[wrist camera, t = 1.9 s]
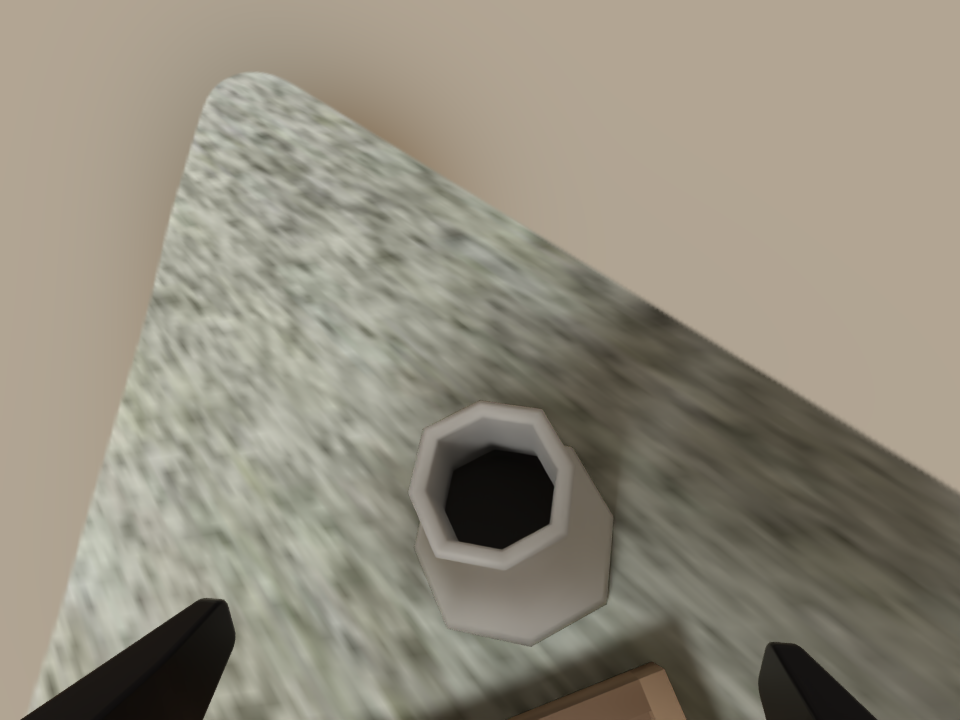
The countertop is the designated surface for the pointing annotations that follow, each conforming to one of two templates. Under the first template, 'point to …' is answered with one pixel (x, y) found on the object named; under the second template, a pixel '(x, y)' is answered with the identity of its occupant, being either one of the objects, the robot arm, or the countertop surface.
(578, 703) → the walnut tray
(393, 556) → the countertop surface
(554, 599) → the flask
